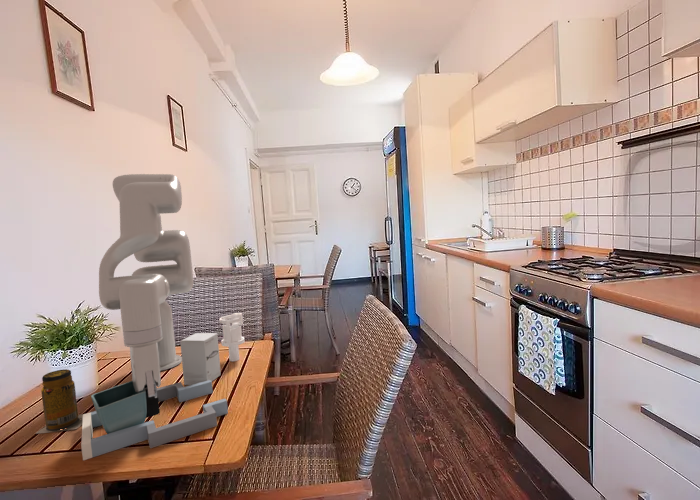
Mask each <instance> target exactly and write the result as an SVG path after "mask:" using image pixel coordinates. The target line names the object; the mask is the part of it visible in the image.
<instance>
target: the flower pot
mask: <svg viewBox="0 0 700 500" xmlns="http://www.w3.org/2000/svg"><path fill="white" fill-rule="evenodd" d="M90 398H91V400H92V403H93V406H94V409H95V410H94V411H96V412H97V415H98V417H99V419H100V421H101V423H102V425H101V426H102V427H103V430H104V431H105V433H106V434H109V433H113V432H116V431H119V430H122V429H126V428H129V427H132V426H136V425H139V424H142V423H145V422H146V419H147V418H146V414H147V404H146V390H145V389H144V388H143V391H139V393H137V392H136V391H135V389H134V385H133V381H132V380H130V381H127V382H125V383H122V384H119V385H115V386H112V387H110V388H107V389H104V390H101V391H99V392H96V393H93V394H91V397H90Z"/></svg>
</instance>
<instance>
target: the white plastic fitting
mask: <svg viewBox="0 0 700 500" xmlns="http://www.w3.org/2000/svg"><path fill="white" fill-rule="evenodd" d="M243 319H244V318H243V313H242V312H239V313H237V312H235V313H232V314H229V315H228V314H227V315H225V316H224V315H223V316H221V317H220V318H219V324H222V333H223V334H222V335H223V339H221V346H223V347H226V348H227V347H228V358H229V359H228V360H229V362H237V361H239V360H240V348H239V346H240V345H242V344H244V343H245V337H244V336H242V334H243V333H242V325H244V322H243V321H244V320H243Z"/></svg>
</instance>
